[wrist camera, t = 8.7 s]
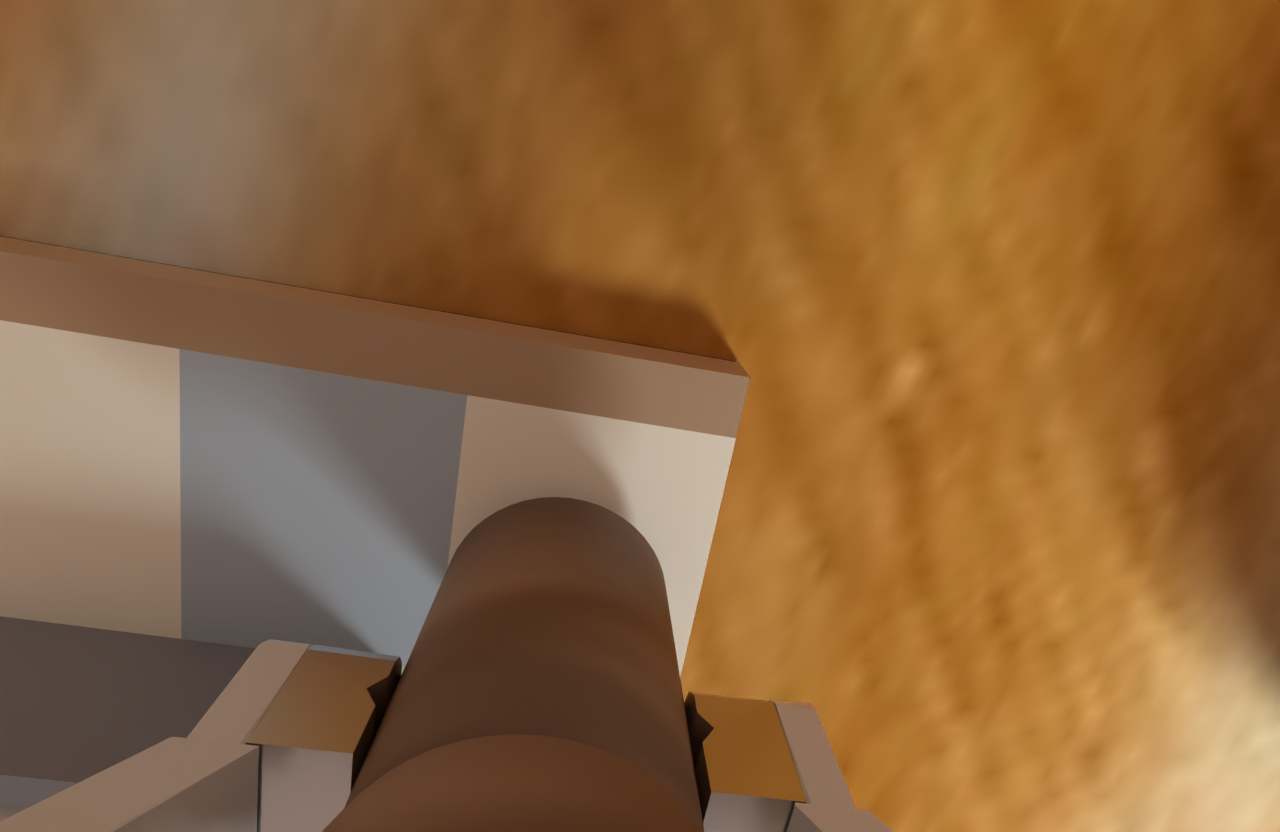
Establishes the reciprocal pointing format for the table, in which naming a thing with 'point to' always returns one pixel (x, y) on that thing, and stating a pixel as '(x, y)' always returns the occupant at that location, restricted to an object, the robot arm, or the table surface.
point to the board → (287, 481)
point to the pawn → (537, 690)
